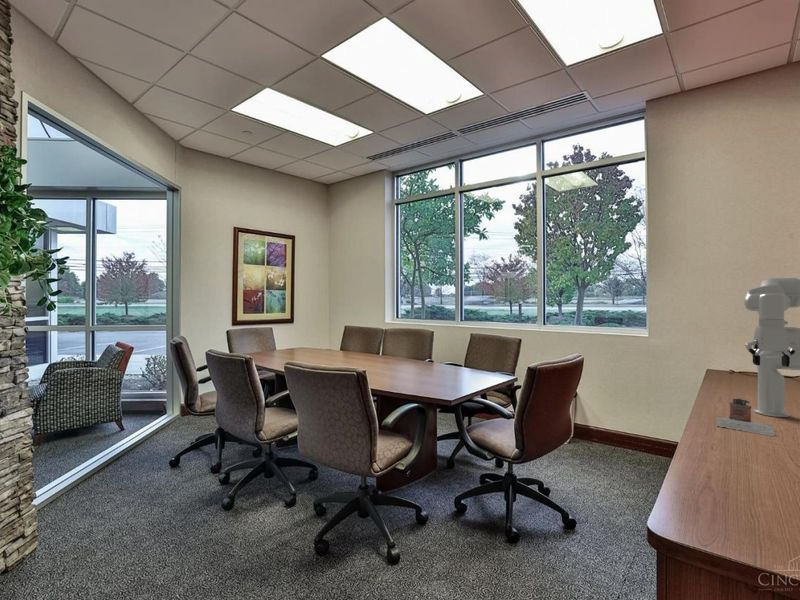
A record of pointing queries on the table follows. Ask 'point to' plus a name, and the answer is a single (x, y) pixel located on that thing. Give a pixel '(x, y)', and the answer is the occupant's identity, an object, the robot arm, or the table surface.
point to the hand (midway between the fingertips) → (770, 365)
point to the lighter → (740, 410)
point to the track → (746, 426)
